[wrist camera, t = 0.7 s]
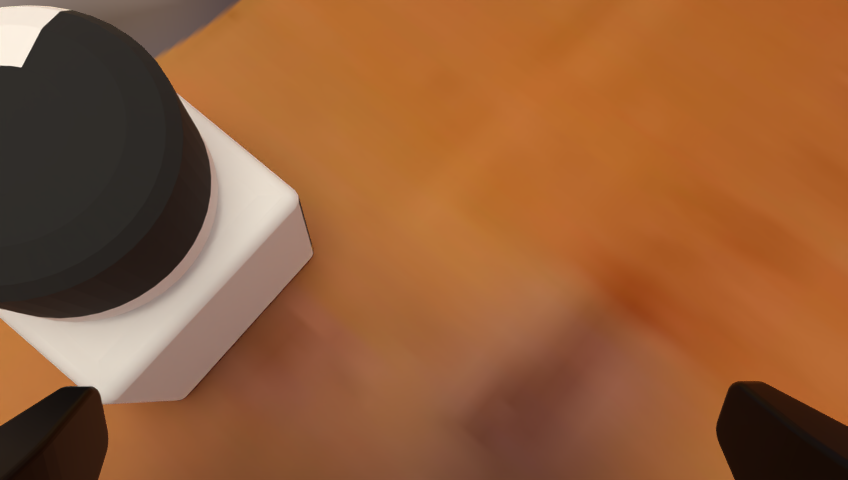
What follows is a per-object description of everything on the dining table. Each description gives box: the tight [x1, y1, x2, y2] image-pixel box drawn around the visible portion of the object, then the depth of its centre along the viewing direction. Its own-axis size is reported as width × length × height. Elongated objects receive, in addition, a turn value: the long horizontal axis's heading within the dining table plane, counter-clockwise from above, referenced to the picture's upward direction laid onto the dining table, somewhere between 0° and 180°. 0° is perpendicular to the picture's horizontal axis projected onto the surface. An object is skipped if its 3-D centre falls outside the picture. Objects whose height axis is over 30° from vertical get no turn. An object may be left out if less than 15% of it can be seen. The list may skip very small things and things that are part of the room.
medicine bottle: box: [0, 5, 313, 404], centre depth 17 cm, size 7×7×12 cm
